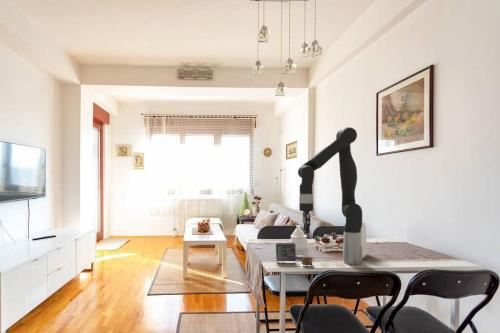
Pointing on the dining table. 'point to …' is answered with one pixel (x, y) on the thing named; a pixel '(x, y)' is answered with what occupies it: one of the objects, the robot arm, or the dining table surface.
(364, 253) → the milk
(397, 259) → the dining table surface
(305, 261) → the walnut cube
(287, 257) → the small box
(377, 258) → the dining table surface
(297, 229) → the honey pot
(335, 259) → the dining table surface
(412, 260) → the dining table surface
